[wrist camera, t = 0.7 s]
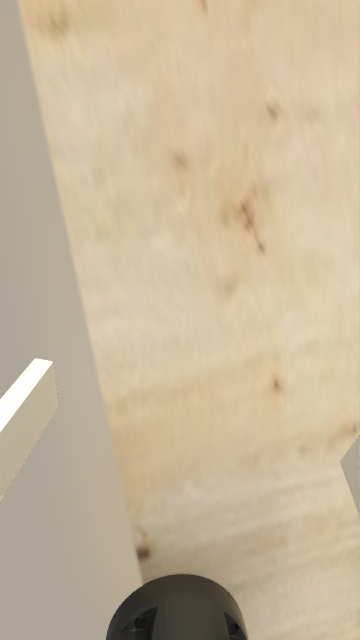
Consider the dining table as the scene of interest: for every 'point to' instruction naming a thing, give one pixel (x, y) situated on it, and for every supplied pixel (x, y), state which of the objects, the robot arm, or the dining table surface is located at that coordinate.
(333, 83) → the dining table surface
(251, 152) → the dining table surface
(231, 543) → the dining table surface
